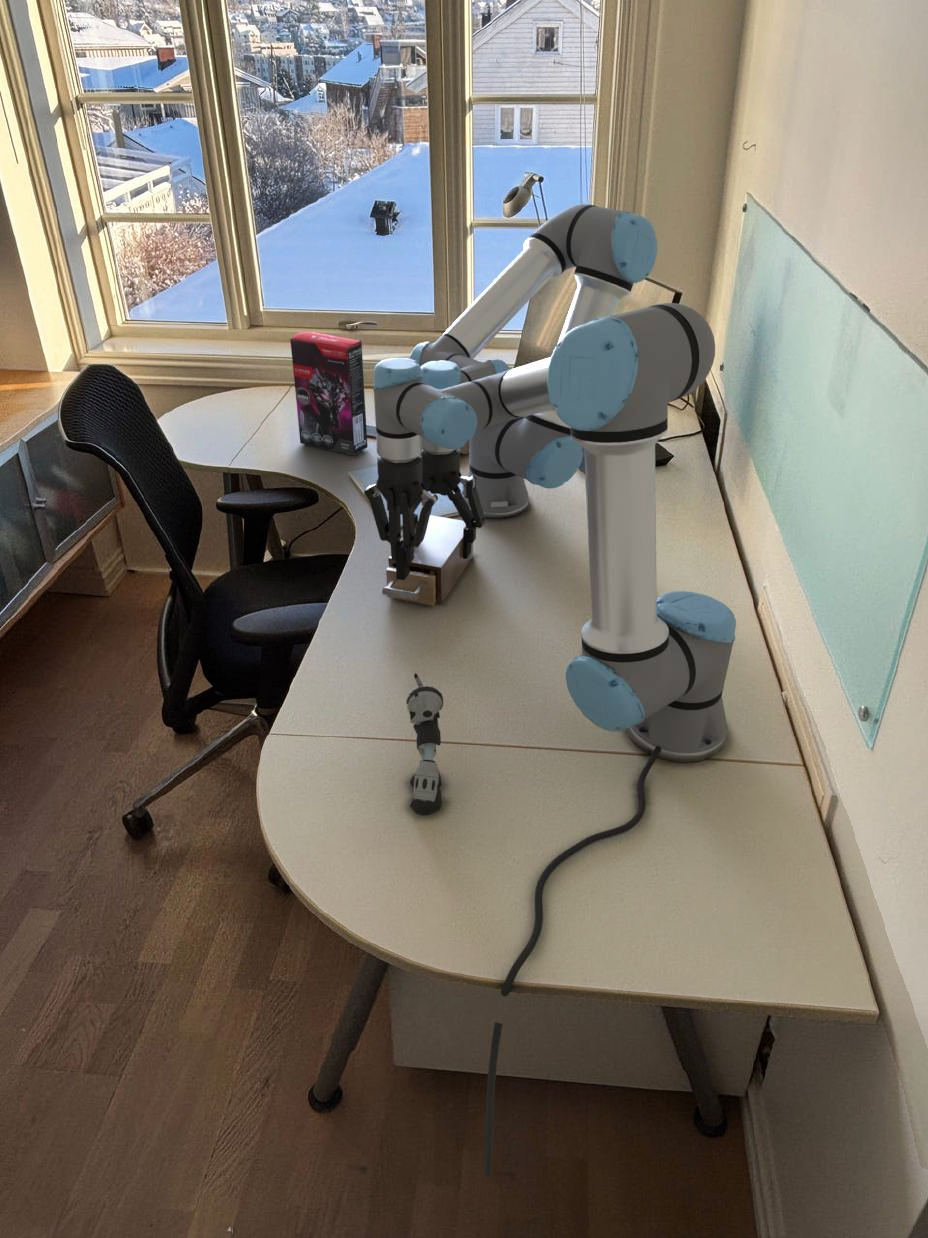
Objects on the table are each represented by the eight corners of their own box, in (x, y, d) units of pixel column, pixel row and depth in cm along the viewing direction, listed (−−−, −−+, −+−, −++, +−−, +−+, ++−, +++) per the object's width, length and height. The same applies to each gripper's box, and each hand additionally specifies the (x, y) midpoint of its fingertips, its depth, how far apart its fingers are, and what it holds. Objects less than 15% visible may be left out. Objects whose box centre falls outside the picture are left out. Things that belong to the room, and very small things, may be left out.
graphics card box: (297, 444, 233) (287, 336, 218) (313, 435, 239) (304, 329, 223) (354, 457, 227) (347, 347, 212) (369, 447, 232) (364, 339, 217)
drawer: (423, 621, 166) (422, 593, 163) (376, 611, 169) (374, 584, 165) (464, 560, 184) (464, 534, 181) (420, 553, 186) (420, 527, 183)
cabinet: (441, 603, 173) (441, 567, 168) (389, 593, 176) (388, 557, 171) (472, 556, 187) (473, 522, 183) (424, 548, 190) (424, 513, 186)
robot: (446, 845, 123) (445, 731, 112) (409, 846, 123) (405, 732, 112) (441, 747, 139) (440, 638, 128) (409, 747, 139) (405, 639, 128)
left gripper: (505, 448, 171) (501, 551, 183) (390, 431, 177) (394, 532, 189) (492, 464, 165) (489, 570, 177) (374, 446, 171) (379, 549, 183)
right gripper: (444, 451, 154) (444, 572, 167) (372, 439, 157) (378, 559, 170) (428, 469, 148) (429, 593, 161) (354, 457, 151) (361, 579, 164)
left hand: (440, 550), depth 183 cm, fingers closed on cabinet, 10 cm apart
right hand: (403, 575), depth 166 cm, fingers closed
